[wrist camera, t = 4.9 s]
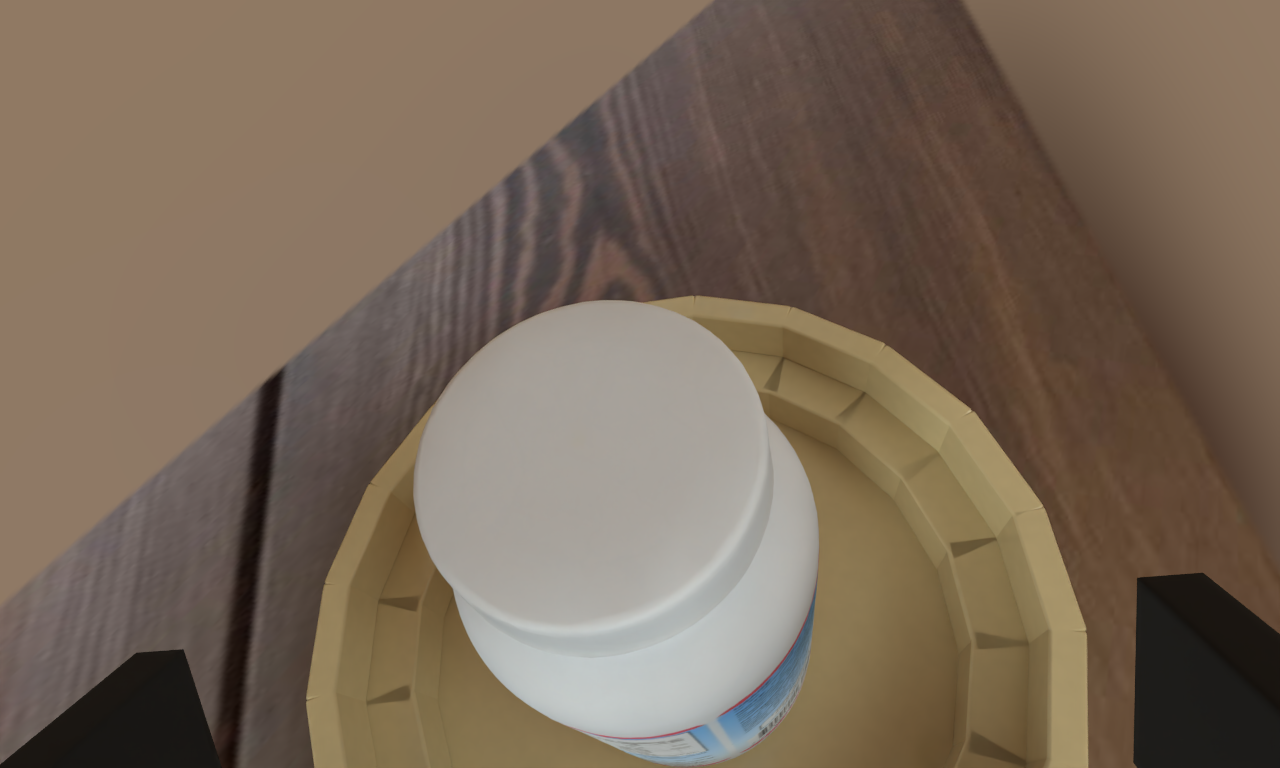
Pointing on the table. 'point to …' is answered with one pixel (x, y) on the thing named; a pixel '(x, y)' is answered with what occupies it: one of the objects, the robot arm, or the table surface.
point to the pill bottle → (624, 530)
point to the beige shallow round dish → (844, 607)
